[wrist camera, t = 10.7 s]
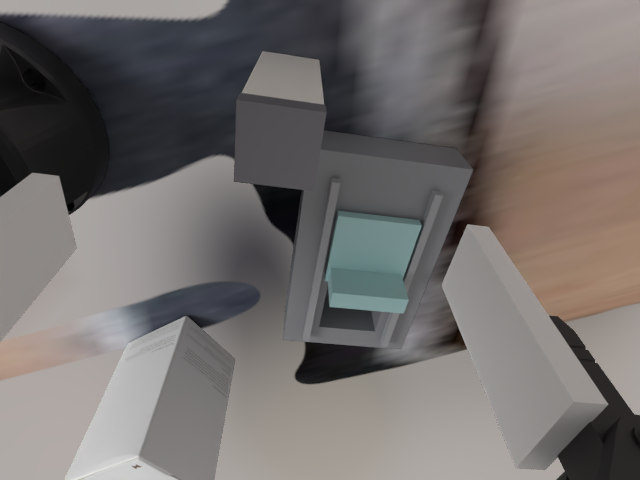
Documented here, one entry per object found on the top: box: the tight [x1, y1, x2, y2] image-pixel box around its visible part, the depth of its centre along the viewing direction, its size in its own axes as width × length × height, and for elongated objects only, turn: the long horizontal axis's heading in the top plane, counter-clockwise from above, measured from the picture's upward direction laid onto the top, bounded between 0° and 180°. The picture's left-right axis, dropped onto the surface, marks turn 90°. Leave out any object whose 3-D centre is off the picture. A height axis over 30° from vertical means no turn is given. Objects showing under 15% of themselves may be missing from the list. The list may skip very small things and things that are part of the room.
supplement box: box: [65, 316, 235, 480], centre depth 40 cm, size 9×9×15 cm
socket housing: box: [283, 130, 473, 349], centre depth 35 cm, size 12×20×5 cm, turn 172°
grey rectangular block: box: [234, 51, 327, 191], centre depth 24 cm, size 4×4×12 cm
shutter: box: [325, 211, 422, 314], centre depth 31 cm, size 6×6×4 cm
